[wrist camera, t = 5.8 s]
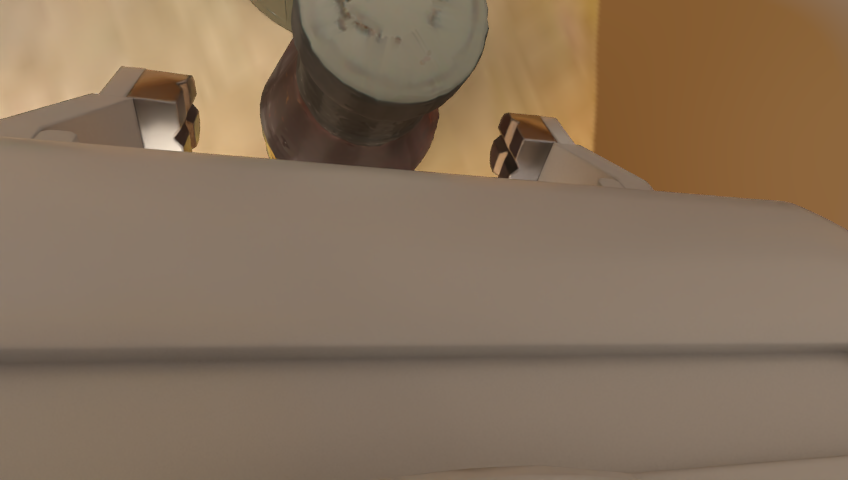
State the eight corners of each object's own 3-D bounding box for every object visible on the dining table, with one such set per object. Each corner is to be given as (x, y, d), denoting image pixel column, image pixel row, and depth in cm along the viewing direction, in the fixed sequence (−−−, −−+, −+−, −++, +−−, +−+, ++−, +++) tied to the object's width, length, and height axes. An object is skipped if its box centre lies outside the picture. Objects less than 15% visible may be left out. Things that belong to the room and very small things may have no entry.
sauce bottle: (251, 153, 27) (125, -99, 8) (339, 98, 29) (408, -230, 10) (319, 244, 28) (349, 209, 9) (402, 186, 30) (583, 45, 10)
